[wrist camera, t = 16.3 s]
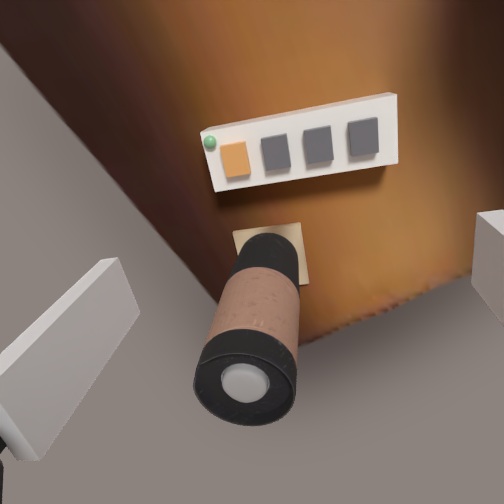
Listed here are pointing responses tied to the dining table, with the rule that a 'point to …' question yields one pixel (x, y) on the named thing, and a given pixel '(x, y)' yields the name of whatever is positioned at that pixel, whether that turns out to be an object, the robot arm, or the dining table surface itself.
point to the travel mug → (254, 337)
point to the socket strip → (304, 143)
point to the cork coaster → (285, 230)
